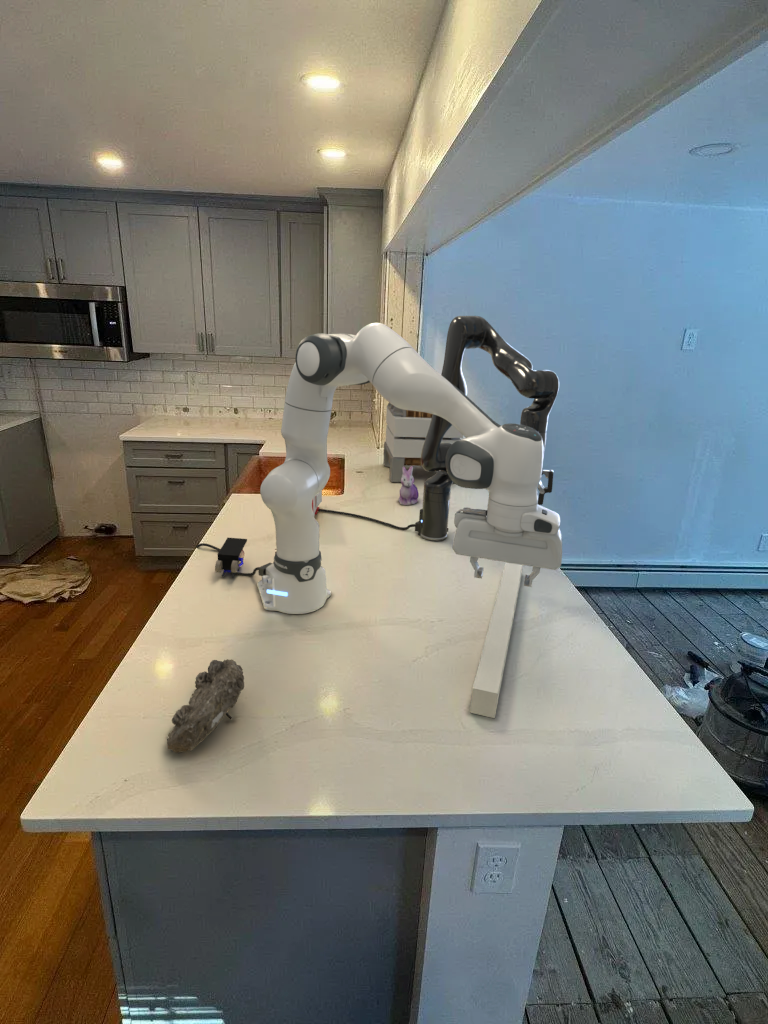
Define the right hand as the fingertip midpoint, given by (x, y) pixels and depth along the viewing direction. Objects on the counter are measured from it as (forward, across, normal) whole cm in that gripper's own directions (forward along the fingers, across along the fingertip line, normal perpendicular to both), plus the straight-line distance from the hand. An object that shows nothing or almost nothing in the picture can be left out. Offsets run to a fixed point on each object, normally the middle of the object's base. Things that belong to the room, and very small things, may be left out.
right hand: (523, 503), depth 157 cm
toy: (+25, -79, +26) cm, 87 cm away
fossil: (+25, -49, -79) cm, 96 cm away
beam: (+25, 0, -26) cm, 36 cm away
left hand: (-1, 0, -53) cm, 53 cm away
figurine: (+25, -48, +60) cm, 81 cm away
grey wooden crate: (+25, -54, +105) cm, 121 cm away
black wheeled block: (+25, -80, -22) cm, 86 cm away
